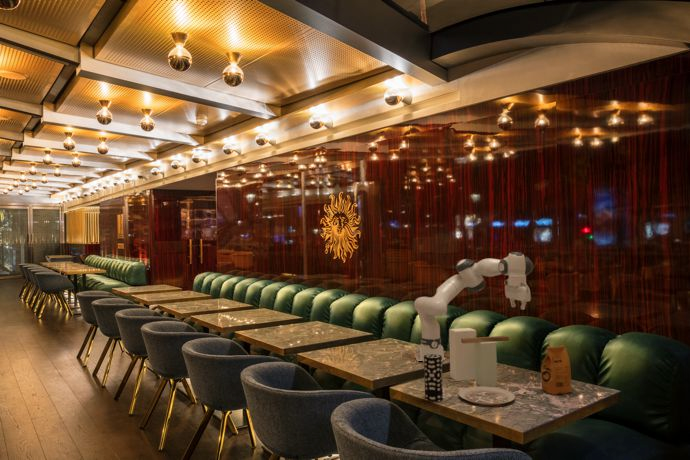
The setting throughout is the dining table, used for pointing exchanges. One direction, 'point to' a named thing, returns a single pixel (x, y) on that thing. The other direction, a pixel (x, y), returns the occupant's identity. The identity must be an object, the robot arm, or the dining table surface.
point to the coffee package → (556, 371)
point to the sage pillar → (486, 364)
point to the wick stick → (485, 339)
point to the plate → (469, 390)
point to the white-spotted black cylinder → (433, 377)
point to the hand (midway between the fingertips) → (518, 308)
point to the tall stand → (462, 354)
